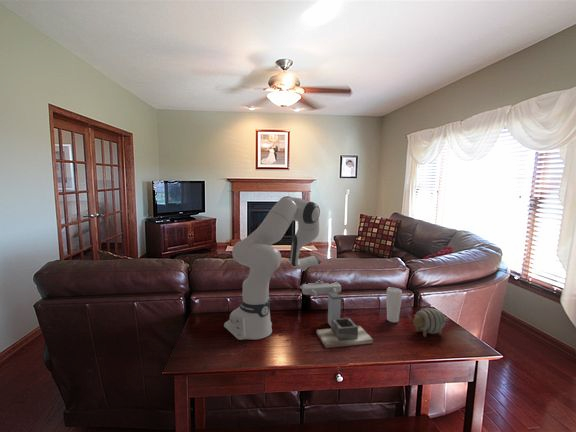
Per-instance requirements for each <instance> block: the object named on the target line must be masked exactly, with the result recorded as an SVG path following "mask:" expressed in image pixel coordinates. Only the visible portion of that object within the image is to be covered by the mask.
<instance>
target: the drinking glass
mask: <svg viewBox="0 0 576 432" xmlns="http://www.w3.org/2000/svg"><path fill="white" fill-rule="evenodd" d="M385 295H386V319H387V321H388V322H390V323H398V322H400V321H399V320H400V312H401V304H402V300H403V299H402V297H403V291H402V289H400V288H397V287H388V288H386V293H385Z"/></svg>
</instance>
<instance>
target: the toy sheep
mask: <svg viewBox="0 0 576 432" xmlns="http://www.w3.org/2000/svg"><path fill="white" fill-rule="evenodd" d="M413 317H414V318H413V319H412V324H413V326H414V327H415V328H416V329H415V330H416V332H417V333H420V332H421V331H422V336H423V337H424V338H426V337H427V334H431V335H434V334H438V336H442V330H443V328H444V327H445V325H446V322H448V321H450V318H449V317H446V316H445V315H444V314H443V313H442V311H440V310H439V309H435V308H429V307H425V308H422V309H420V310H418V311H416V313H415V314H414V315H413Z"/></svg>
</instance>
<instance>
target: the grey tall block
mask: <svg viewBox="0 0 576 432" xmlns="http://www.w3.org/2000/svg"><path fill="white" fill-rule="evenodd" d="M327 301H328V302H327V303H328V306H327V307H328V308H327V309H328V310H327V324H328V325H329V326H330V328H331V327H332V319H337V318H341V307H342V305H341V303H342V297H341V295H340V294H339V293H328V300H327Z"/></svg>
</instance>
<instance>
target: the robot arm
mask: <svg viewBox="0 0 576 432" xmlns="http://www.w3.org/2000/svg"><path fill="white" fill-rule="evenodd" d="M320 214H321V209H320V207H319V205H318V203H315V202H313V201H309V200H306V199H303V198H300V197H293V196H290V195H289V196H283V197H281V198H280V199H279V200H278V201H277V202H276V203H275V204H274V205H273V206H272V208H271V209H270V210H269V212H268V213H267V214H266V216H265V218H264V219H263V221H262V222H261V223H260V224H259V225H258V227H257V228H255V230H253V232H251V233H250V234H249V235H248V236H246V237H245V238H243V239H240V240H239V241H237V242H236V243H235V244H234V245H233V246H232V250H231V254H232V255H231V256H232V258H233V259H234V260H235V261H236V262H237V263H238V264H240V265H242V266H246V267H248V268H249V274H248V277H246V278H245V279H244V280H243V282H242V298H241V299H239V300H238V303H240V304H239V306H238V307H237V308H235V309H234V310H233V311H231V312H230V315H229V319H228V320H227V321H225V322H224V324H223V328H225V329H226V330H227V331H228V332H229V333H231V334H232V336H234V337H235V338H236V339H237V340H241V341H242V340H261V339H264V338H267V337H268V336H270V335H271V334H272V333H273V329H272V326H273V322H272V321H271V310H270V305H271V304H270V303H271V302H270V298H269V295H270V294H269V291H270V280H271V277H272V275H273V273H274V272H276V271H277V270H278V269H279V268H280V266H281V263H282V254H281V252H280V251H279V249H278V248H275V247H274V246H272V245H273V244H275V243H278V242H280V241H281V240H282V239H283V237H284V236H285V234H286V232H287V231H288V229H289V228H290V226H291V224H292V222H293V221H295V222H297V229H296V230H297V231H296V233H295V234H294V235H293V236H292V238H291V245H290V246H291V247H290V255H289V261H290V262H291V264H292V265H293V266H299V267H300V268H301V270H302V272H303V271H305V270H306V269H307V268H308V267H310V266H314V265H319V264H320V263H322V261H321V259H320V258H319V257H318V256H316V255H310V256H306V257H303V258H300V257H299V256H300V250H301V249H302V248H303V247H304V246H305V245H308V244H310V243H311V242H313V241H315V240H316V239H317V237H318V236H319V233H320ZM319 281H320V280H318V281H316V282H315V283H308V284H306V283H302V284H301V285H300V286H299V289H301V290H302V291H301V292H302V294H303V295H305V296H311V295H312V296H314V297H319V295H323V294H329V293H338V294H339V293H341V291H342V284H340V283H339V282H338V281H336V282H334V283H331V284H329V283H324V282H323V281H320V282H319Z"/></svg>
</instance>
